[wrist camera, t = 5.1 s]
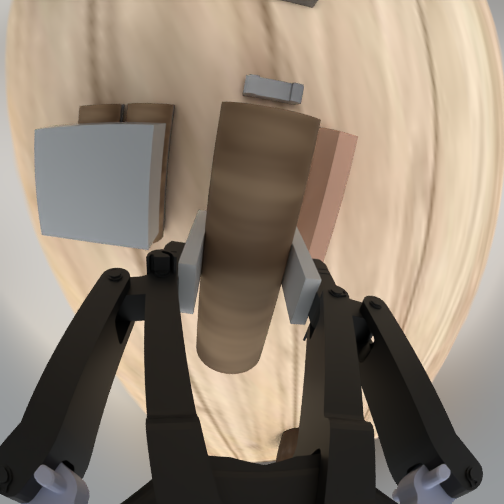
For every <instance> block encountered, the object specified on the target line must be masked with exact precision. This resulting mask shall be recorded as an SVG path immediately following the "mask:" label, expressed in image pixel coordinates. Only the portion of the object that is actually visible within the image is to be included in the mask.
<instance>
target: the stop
mask: <svg viewBox="0 0 504 504" xmlns="http://www.w3.org/2000/svg"><path fill="white" fill-rule="evenodd" d="M357 139H358V136H355V135H351V134H348V133H345V132H341V131H337V130H332V129H327V128H321V127H319V132H318V137H317V141H316V146H315V151H314V155H313V160H312V164H311V169H310V173H309V177H308V182H307V186H306V190H305V194H304V199H303V203H302V207H301V211H300V215H299V219H298V223H297V228H298V230H299V232H300V234H301V236H302V238H303V240H304V243H305V245H306V247H307V249H308V251H309V253H310V255H311V258H313V259H320V260H321V261H322V262H323V261H324V258H325V255H326V252H327V249H328V246H329V242H330V239H331V236H332V233H333V229H334V226H335V223H336V219H337V216H338V213H339V209H340V206H341V202H342V198H343V195H344V191H345V187H346V184H347V180H348V176H349V172H350V168H351V164H352V160H353V156H354V152H355V148H356V144H357Z"/></svg>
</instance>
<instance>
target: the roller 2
mask: <svg viewBox="0 0 504 504" xmlns="http://www.w3.org/2000/svg"><path fill="white" fill-rule="evenodd" d="M173 107H174V105H171V104H152V103H132V104H128V107H127V115H126V122H150V123H166V128H165V137H164V147H163V157H162V170H161V184H160V203H159V233H158V235H157V236H156V238H155V240H154V241H153V243H155V242H157V241H159V240H161V239H162V237H163V221H164V199H165V183H166V169H167V158H168V148H169V138H170V130H171V122H172V114H173Z"/></svg>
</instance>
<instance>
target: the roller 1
mask: <svg viewBox="0 0 504 504" xmlns="http://www.w3.org/2000/svg"><path fill="white" fill-rule="evenodd" d="M120 113H121V104H104V105H87V106H80V109H79V120H78V124H79V123H99V122H120Z"/></svg>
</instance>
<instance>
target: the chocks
mask: <svg viewBox="0 0 504 504" xmlns="http://www.w3.org/2000/svg"><path fill="white" fill-rule="evenodd" d="M174 106H175V105H174ZM123 113H124V104H122V105H121V113H120V122H123ZM173 113H174V107H173ZM172 121H173V114H172ZM171 129H172V122H171ZM170 137H171V130H170ZM169 147H170V138H169ZM168 157H169V148H168ZM167 168H168V158H167ZM166 180H167V169H166ZM165 196H166V183H165ZM164 216H165V199H164ZM163 230H164V221H163Z"/></svg>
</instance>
